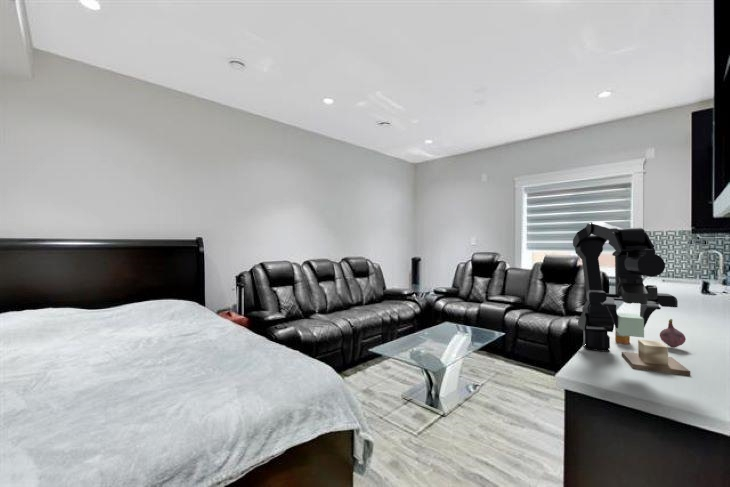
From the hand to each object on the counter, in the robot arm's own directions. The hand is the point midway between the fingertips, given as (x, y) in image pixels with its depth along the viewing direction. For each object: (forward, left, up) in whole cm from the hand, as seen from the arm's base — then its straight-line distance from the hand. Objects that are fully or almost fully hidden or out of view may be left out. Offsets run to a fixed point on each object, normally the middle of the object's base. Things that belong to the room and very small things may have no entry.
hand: (628, 329), depth 87 cm
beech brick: (+7, +9, -11) cm, 16 cm away
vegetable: (+18, +31, -12) cm, 38 cm away
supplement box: (+5, +32, -12) cm, 35 cm away
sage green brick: (0, 0, -1) cm, 1 cm away
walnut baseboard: (+7, +9, -12) cm, 16 cm away
